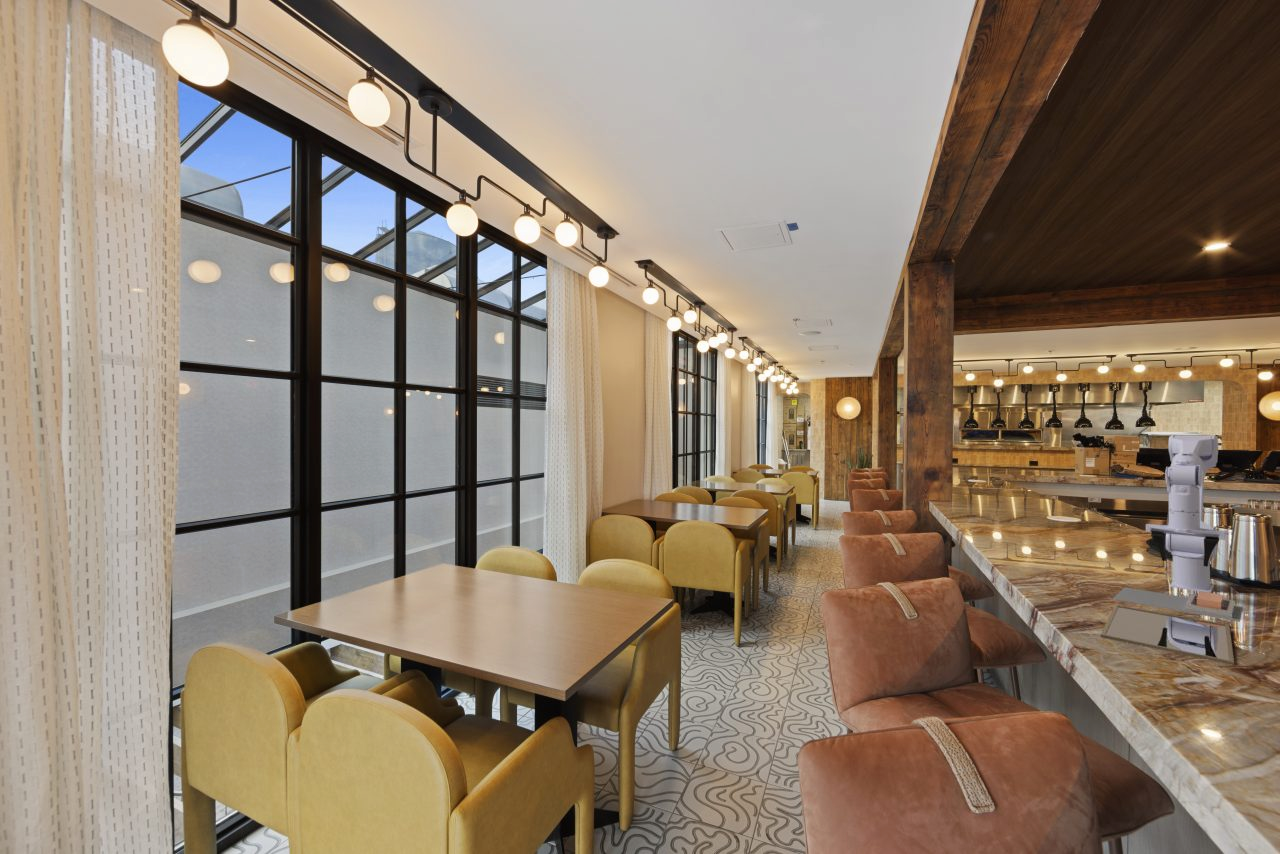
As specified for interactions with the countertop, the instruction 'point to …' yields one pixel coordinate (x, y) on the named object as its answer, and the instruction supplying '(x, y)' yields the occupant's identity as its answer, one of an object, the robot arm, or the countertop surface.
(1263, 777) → the countertop surface
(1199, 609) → the tray frame
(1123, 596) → the mat
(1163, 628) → the framed mirror
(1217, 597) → the tall peach block
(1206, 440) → the robot arm
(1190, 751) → the countertop surface
